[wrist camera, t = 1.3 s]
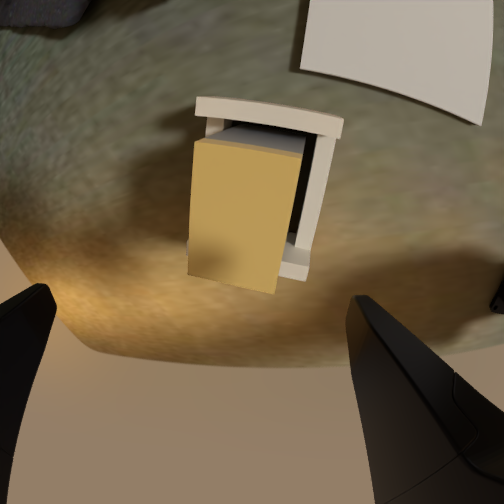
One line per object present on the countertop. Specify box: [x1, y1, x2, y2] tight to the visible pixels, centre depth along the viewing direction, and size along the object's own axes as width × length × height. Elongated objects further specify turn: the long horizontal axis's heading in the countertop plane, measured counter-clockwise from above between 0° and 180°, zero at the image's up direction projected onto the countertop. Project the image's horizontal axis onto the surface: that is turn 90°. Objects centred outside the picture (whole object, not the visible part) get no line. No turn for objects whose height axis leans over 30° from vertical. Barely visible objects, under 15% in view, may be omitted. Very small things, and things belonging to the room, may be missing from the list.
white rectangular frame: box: [186, 96, 344, 282], centre depth 17 cm, size 7×9×4 cm
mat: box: [300, 0, 493, 126], centre depth 11 cm, size 12×12×1 cm
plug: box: [188, 124, 306, 294], centre depth 15 cm, size 4×6×8 cm, turn 172°
